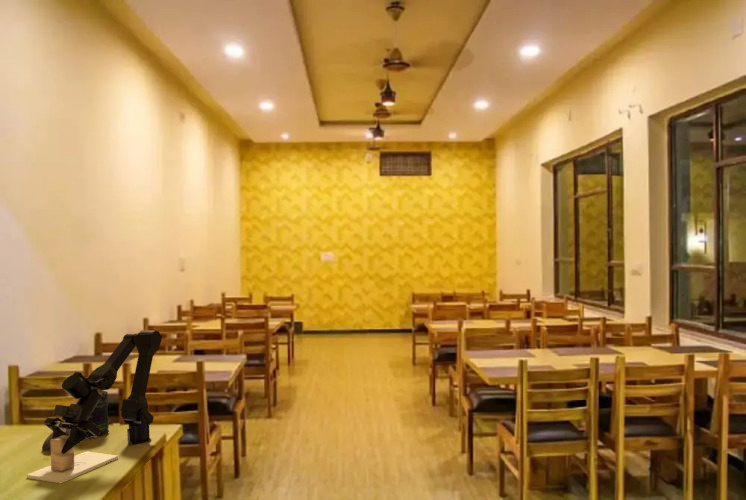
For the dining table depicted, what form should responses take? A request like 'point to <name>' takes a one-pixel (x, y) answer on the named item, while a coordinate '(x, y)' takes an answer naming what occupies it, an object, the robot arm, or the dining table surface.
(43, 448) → the stone
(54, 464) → the block
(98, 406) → the storage jar
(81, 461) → the board
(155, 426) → the dining table surface
